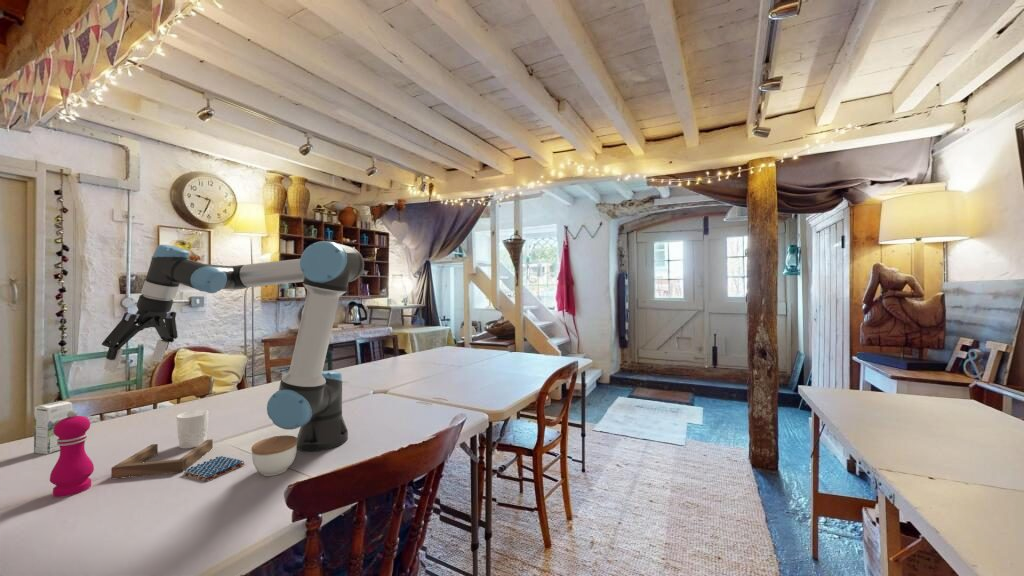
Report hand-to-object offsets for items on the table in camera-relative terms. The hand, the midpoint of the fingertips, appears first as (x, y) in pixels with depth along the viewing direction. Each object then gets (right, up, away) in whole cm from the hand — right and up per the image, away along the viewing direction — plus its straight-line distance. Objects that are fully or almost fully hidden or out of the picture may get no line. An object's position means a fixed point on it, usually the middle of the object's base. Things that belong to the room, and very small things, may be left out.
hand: (134, 365), depth 112 cm
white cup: (+8, -28, +11) cm, 31 cm away
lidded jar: (+46, -28, -7) cm, 54 cm away
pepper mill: (+2, -28, -17) cm, 33 cm away
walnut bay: (+11, -28, -2) cm, 30 cm away
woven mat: (+29, -28, -7) cm, 41 cm away
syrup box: (-32, -28, +7) cm, 44 cm away
